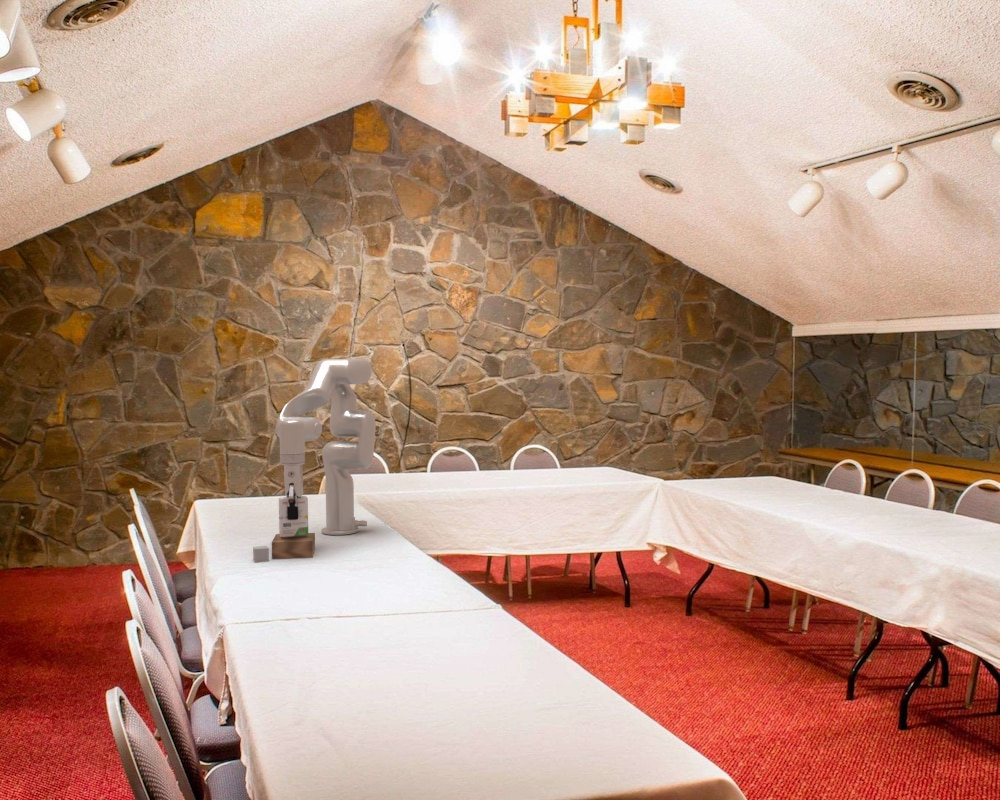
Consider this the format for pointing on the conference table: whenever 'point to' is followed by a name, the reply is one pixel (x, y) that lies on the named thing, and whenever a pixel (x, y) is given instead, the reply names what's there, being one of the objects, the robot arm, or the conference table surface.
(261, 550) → the slate cube
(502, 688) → the conference table surface
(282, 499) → the ink box
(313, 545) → the walnut base block
